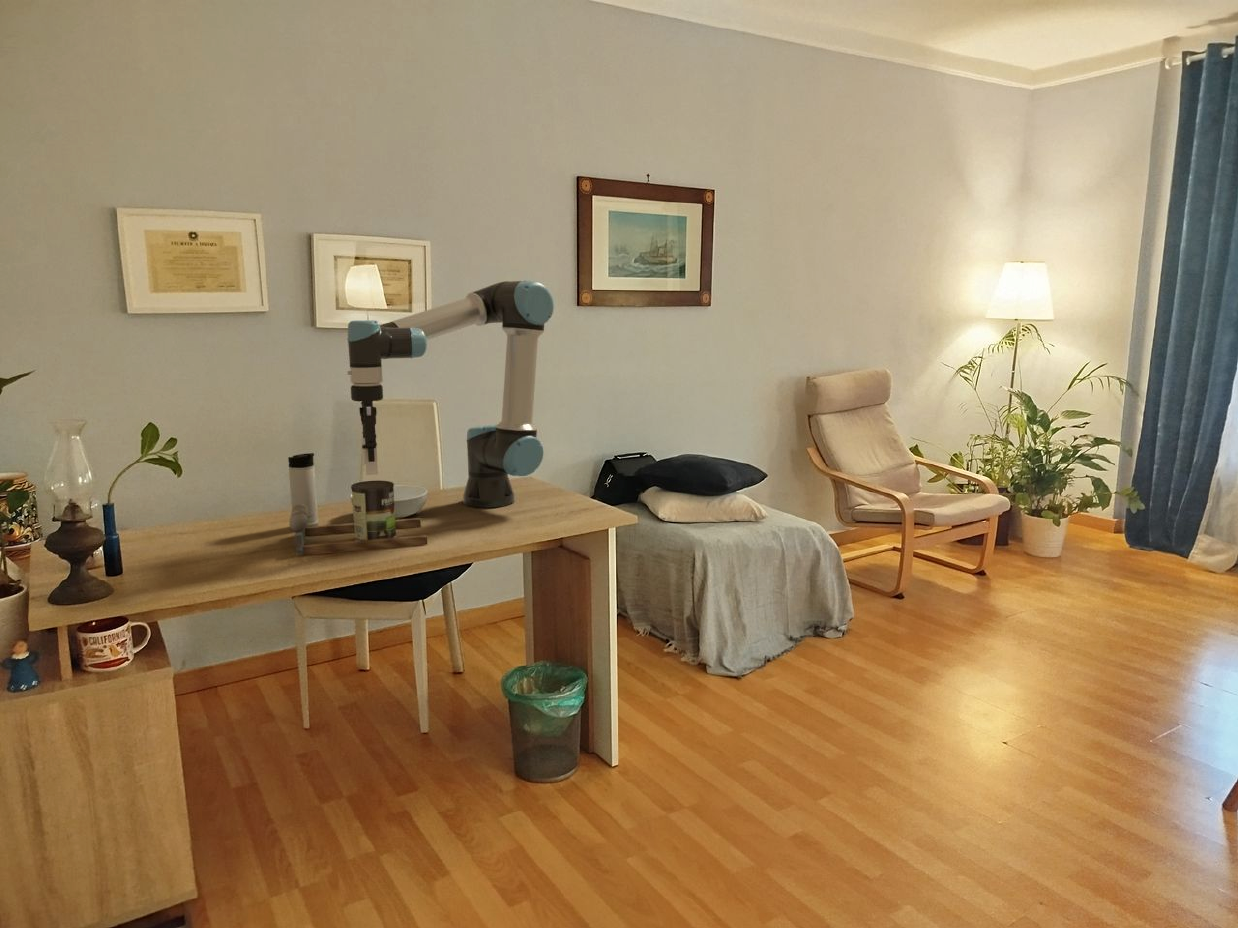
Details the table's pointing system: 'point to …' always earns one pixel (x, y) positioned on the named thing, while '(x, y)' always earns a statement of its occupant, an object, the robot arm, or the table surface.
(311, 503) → the travel mug
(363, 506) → the coffee can
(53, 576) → the table surface
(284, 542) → the table surface
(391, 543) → the bay
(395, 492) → the serving bowl
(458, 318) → the robot arm
